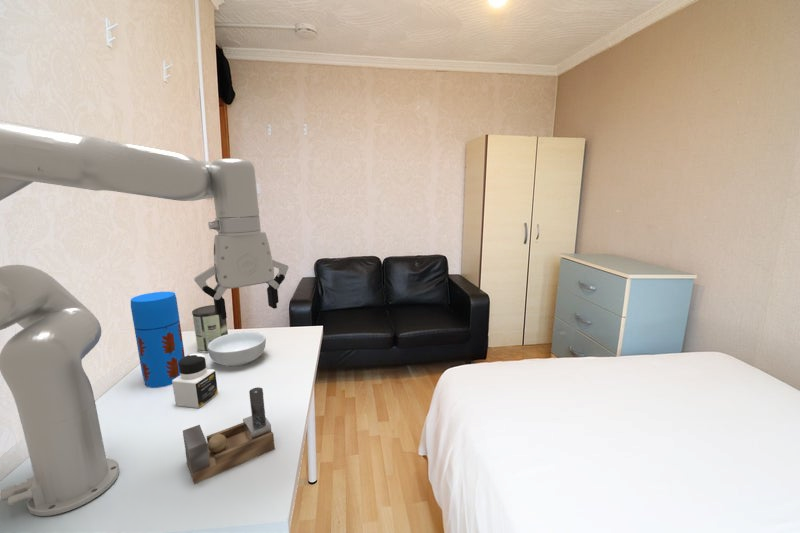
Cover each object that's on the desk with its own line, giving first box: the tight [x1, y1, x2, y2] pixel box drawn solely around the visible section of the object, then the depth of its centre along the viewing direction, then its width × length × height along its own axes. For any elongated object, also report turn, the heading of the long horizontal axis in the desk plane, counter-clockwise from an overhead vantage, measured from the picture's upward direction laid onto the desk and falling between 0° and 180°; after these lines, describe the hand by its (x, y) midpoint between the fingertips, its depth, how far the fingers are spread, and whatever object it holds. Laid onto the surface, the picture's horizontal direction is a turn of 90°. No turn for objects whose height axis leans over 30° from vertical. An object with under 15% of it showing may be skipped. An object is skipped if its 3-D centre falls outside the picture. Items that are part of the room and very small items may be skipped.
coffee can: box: [191, 304, 229, 354], centre depth 128 cm, size 10×10×14 cm
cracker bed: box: [182, 422, 276, 485], centre depth 74 cm, size 15×8×7 cm, turn 128°
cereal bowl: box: [208, 331, 266, 367], centre depth 117 cm, size 17×17×7 cm
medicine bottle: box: [171, 353, 219, 409], centre depth 94 cm, size 7×7×12 cm
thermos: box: [130, 291, 185, 389], centre depth 105 cm, size 11×11×25 cm
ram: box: [242, 386, 273, 440], centre depth 77 cm, size 4×6×10 cm
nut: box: [208, 434, 227, 453], centre depth 73 cm, size 3×3×3 cm
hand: (248, 312), depth 73 cm, fingers open, 9 cm apart
